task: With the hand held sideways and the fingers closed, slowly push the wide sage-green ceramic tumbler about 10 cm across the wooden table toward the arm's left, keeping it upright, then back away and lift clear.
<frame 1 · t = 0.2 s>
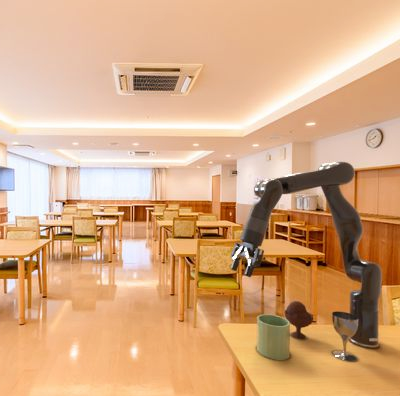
hand: (240, 273, 104), 31 cm above the table, tool tilted 20°, fingers open, 8 cm apart
ice cream bowl: (298, 336, 122), on the table
tumbler: (272, 351, 110), on the table
wine glass: (344, 356, 107), on the table
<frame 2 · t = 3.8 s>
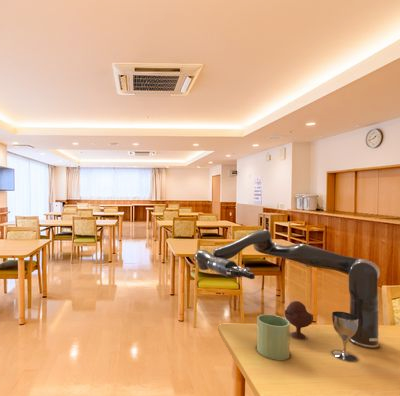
hand: (253, 276, 119), 26 cm above the table, tool horizontal, fingers closed
nothing on the table moved.
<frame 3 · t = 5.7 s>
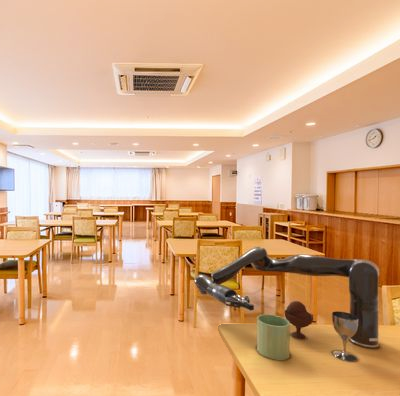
hand: (252, 307, 119), 13 cm above the table, tool horizontal, fingers closed
nothing on the table moved.
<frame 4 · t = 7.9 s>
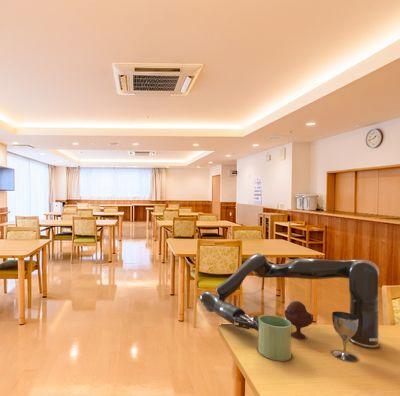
hand: (262, 329, 114), 6 cm above the table, tool horizontal, fingers closed
tumbler: (274, 352, 109), on the table, touching gripper
everything else where it was.
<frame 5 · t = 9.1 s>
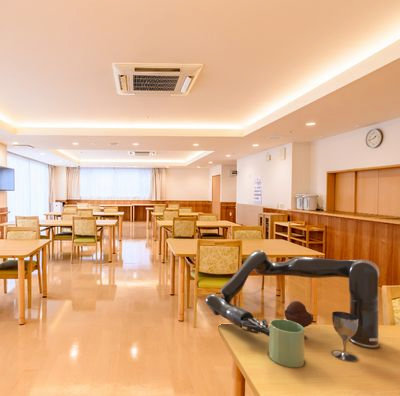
hand: (271, 334, 110), 7 cm above the table, tool horizontal, fingers closed
tumbler: (286, 358, 105), on the table, touching gripper
everything else where it was.
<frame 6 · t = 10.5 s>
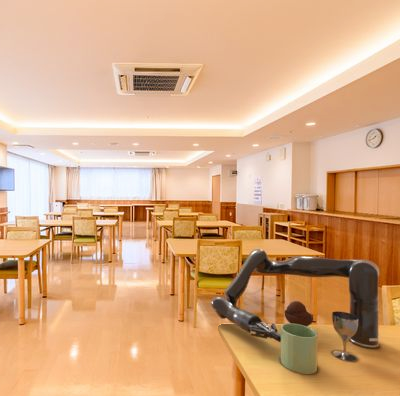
hand: (281, 339, 106), 7 cm above the table, tool horizontal, fingers closed
tumbler: (298, 364, 101), on the table, touching gripper
everything else where it was.
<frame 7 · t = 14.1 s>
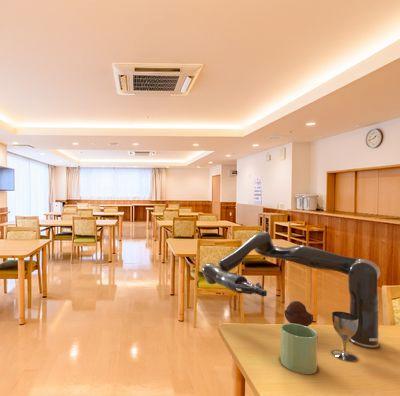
hand: (265, 293, 113), 21 cm above the table, tool horizontal, fingers closed
tumbler: (298, 364, 101), on the table
everything else where it was.
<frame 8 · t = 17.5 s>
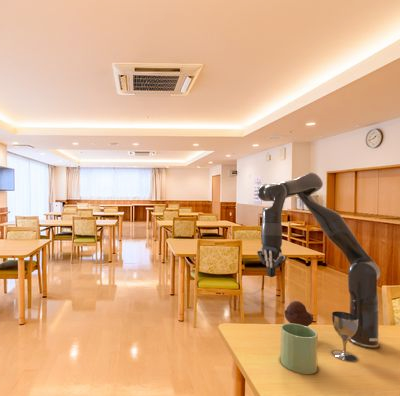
hand: (271, 276, 116), 27 cm above the table, tool pointing down, fingers closed
nothing on the table moved.
at the end: tumbler inside the target area (2.4 cm from its centre), on the table; tumbler tilted 0°; tumbler moved 9.7 cm from its start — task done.
